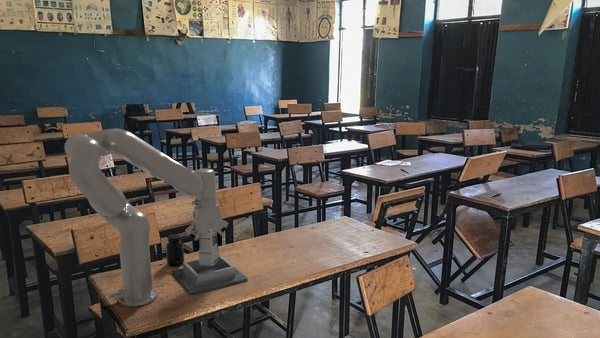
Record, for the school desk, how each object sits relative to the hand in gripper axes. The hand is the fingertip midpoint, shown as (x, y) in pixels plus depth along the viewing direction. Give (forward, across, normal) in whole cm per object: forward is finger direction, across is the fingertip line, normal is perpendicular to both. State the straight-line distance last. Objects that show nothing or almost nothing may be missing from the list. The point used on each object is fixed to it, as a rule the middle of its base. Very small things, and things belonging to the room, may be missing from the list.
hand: (208, 246), depth 170 cm
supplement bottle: (+12, -7, +19) cm, 24 cm away
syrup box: (+7, 0, 0) cm, 7 cm away
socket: (+12, 0, 0) cm, 12 cm away
